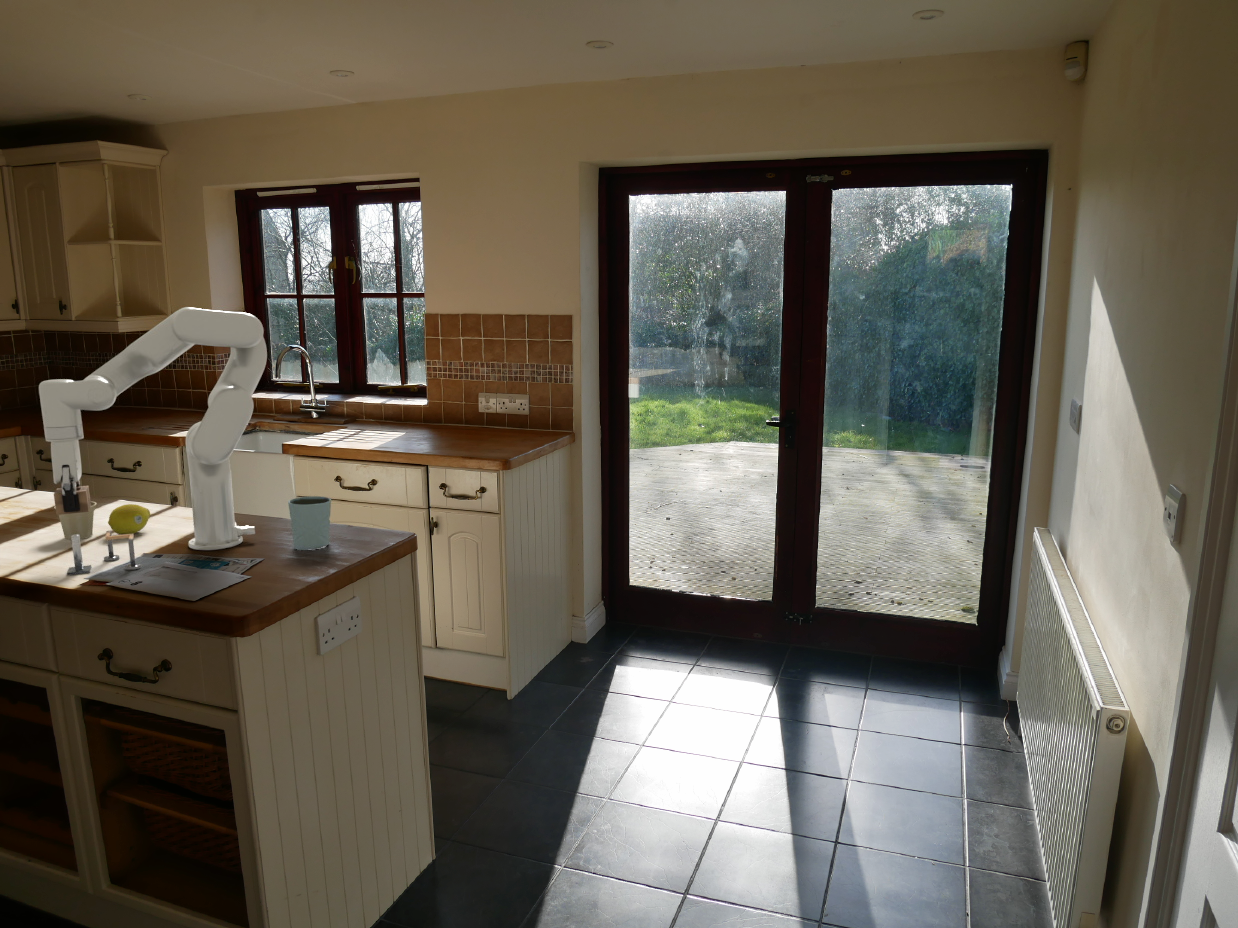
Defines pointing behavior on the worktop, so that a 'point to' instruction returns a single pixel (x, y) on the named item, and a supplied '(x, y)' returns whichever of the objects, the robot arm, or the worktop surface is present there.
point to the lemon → (128, 519)
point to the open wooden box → (83, 500)
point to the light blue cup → (310, 521)
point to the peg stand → (77, 558)
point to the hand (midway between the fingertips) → (73, 507)
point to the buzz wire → (116, 557)
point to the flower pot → (78, 523)
